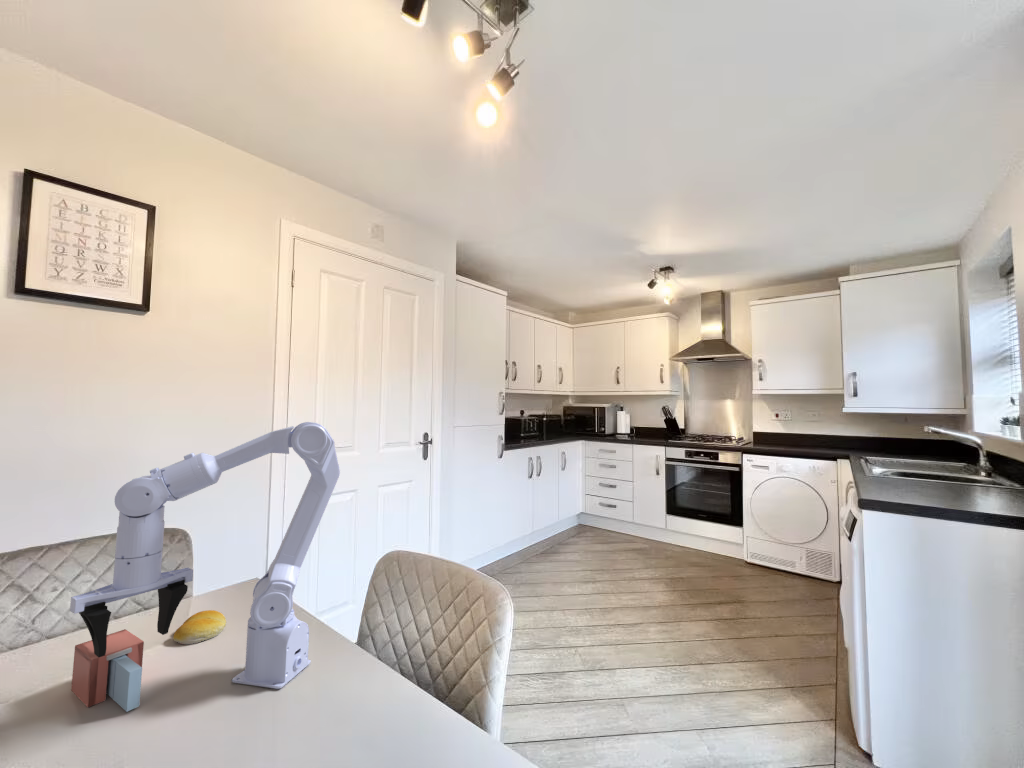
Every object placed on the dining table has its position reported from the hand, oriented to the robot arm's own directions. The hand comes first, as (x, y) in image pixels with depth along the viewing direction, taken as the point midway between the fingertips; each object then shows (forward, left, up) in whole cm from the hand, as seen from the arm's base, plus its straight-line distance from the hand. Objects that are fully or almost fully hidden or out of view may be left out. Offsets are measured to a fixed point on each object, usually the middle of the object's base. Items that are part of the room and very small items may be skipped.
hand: (132, 643), depth 66 cm
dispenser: (+8, -3, -9) cm, 13 cm away
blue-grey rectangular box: (+4, -1, -9) cm, 10 cm away
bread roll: (+9, -21, -10) cm, 25 cm away
